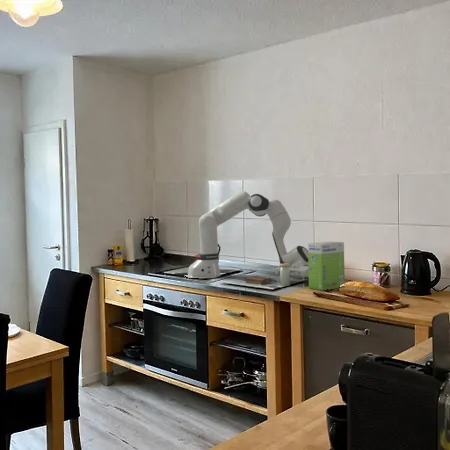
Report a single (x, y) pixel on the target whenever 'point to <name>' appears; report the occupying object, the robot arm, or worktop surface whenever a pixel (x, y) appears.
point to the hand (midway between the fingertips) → (284, 273)
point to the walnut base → (258, 280)
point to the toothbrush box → (326, 265)
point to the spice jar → (285, 274)
